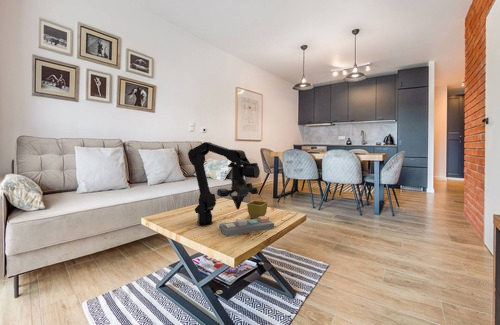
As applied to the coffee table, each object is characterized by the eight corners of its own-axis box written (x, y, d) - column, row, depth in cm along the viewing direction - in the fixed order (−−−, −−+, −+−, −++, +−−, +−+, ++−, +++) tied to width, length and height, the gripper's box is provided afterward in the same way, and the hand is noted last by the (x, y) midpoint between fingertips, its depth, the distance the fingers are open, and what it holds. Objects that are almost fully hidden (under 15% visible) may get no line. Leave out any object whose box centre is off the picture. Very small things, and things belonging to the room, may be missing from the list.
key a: (227, 233, 105) (227, 226, 104) (224, 230, 108) (224, 224, 108) (235, 231, 106) (235, 225, 106) (232, 229, 110) (232, 222, 110)
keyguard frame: (226, 236, 101) (226, 230, 101) (219, 228, 110) (219, 223, 110) (274, 228, 112) (274, 223, 112) (264, 222, 121) (264, 217, 121)
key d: (261, 225, 112) (261, 219, 112) (257, 222, 116) (257, 216, 116) (268, 224, 114) (268, 218, 114) (264, 221, 118) (264, 215, 117)
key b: (239, 228, 107) (239, 222, 107) (236, 225, 111) (236, 219, 110) (246, 227, 109) (247, 221, 109) (243, 224, 112) (243, 218, 112)
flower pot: (260, 222, 121) (260, 205, 121) (246, 219, 126) (246, 203, 125) (267, 217, 129) (268, 202, 128) (254, 215, 133) (254, 200, 133)
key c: (250, 229, 110) (250, 223, 110) (247, 226, 113) (247, 220, 113) (257, 228, 112) (258, 222, 111) (254, 225, 115) (254, 219, 115)
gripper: (224, 180, 96) (224, 216, 97) (263, 177, 104) (263, 211, 104) (216, 177, 106) (217, 209, 107) (252, 175, 114) (252, 205, 115)
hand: (237, 209), depth 108 cm, fingers closed
